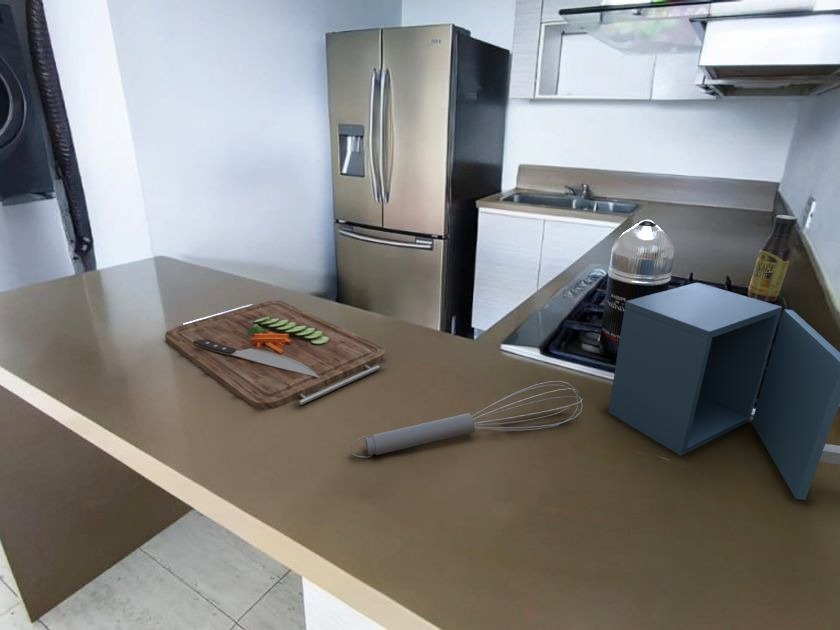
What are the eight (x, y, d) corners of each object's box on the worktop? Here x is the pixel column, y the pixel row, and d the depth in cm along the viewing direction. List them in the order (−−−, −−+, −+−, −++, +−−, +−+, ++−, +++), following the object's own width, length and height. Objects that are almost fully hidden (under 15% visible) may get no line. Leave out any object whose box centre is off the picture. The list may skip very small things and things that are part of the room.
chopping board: (402, 361, 92) (402, 345, 91) (271, 421, 74) (268, 403, 73) (272, 301, 121) (271, 289, 120) (156, 334, 103) (153, 321, 102)
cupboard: (749, 421, 73) (782, 306, 67) (680, 456, 66) (709, 331, 59) (675, 385, 83) (697, 282, 76) (607, 412, 76) (625, 301, 69)
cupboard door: (809, 430, 71) (849, 314, 64) (869, 511, 57) (928, 372, 50) (751, 422, 73) (783, 309, 66) (795, 498, 59) (842, 363, 52)
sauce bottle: (740, 295, 123) (760, 214, 116) (762, 293, 124) (784, 212, 117) (761, 304, 117) (784, 219, 110) (785, 302, 118) (809, 218, 111)
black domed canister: (635, 371, 88) (660, 229, 78) (585, 350, 95) (603, 219, 86) (666, 355, 93) (693, 221, 84) (617, 337, 101) (637, 212, 91)
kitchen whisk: (347, 444, 69) (345, 404, 66) (565, 407, 78) (570, 371, 75) (355, 473, 63) (352, 431, 61) (588, 429, 72) (594, 391, 70)
